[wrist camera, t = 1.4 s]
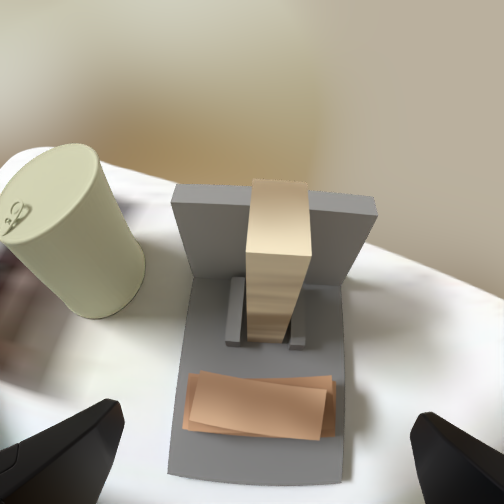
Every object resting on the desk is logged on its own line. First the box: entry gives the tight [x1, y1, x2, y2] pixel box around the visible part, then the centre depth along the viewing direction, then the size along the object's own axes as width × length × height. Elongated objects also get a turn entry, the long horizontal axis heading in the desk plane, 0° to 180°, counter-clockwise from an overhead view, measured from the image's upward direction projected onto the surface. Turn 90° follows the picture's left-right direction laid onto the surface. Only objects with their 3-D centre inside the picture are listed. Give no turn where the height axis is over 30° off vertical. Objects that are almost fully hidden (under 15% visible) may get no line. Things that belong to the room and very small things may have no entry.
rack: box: [167, 184, 378, 486], centre depth 17 cm, size 18×12×10 cm
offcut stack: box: [182, 370, 336, 440], centre depth 17 cm, size 4×10×4 cm, turn 86°
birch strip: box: [246, 179, 312, 343], centre depth 17 cm, size 4×2×12 cm, turn 176°
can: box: [0, 144, 145, 319], centre depth 21 cm, size 9×9×12 cm
